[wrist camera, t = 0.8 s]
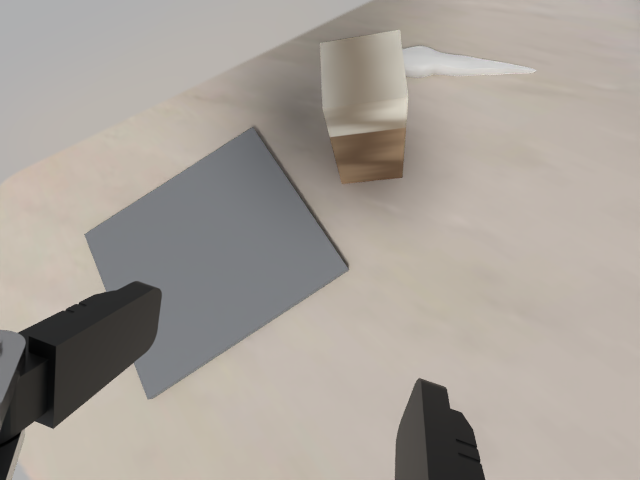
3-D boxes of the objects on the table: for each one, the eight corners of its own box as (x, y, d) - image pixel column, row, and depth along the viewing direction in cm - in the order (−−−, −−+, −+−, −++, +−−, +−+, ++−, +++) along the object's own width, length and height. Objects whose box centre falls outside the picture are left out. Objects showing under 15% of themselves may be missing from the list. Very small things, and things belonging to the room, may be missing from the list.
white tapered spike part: (358, 78, 35) (357, 62, 33) (362, 55, 35) (362, 39, 34) (532, 91, 32) (541, 75, 30) (532, 66, 33) (542, 49, 31)
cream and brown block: (396, 125, 32) (399, 29, 23) (402, 177, 31) (408, 96, 21) (339, 132, 33) (319, 42, 24) (341, 183, 32) (322, 108, 22)
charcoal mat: (254, 130, 35) (252, 126, 34) (348, 270, 29) (348, 268, 29) (89, 236, 34) (84, 234, 34) (152, 398, 29) (147, 399, 28)
